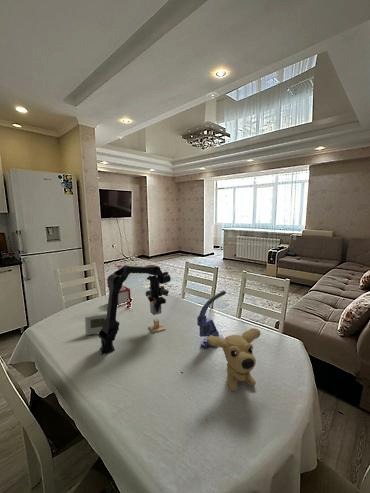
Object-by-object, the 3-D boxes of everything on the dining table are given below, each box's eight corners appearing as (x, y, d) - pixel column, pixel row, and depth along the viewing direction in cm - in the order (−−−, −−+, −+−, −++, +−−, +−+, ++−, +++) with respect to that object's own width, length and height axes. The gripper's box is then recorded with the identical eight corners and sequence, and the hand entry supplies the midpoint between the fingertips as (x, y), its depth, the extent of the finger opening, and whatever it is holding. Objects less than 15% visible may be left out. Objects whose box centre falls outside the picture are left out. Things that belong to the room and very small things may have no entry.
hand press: (205, 352, 120) (205, 300, 115) (194, 345, 127) (194, 295, 122) (230, 340, 131) (231, 292, 127) (218, 333, 138) (219, 288, 134)
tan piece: (165, 329, 143) (164, 320, 142) (152, 333, 140) (152, 324, 139) (160, 324, 150) (159, 315, 149) (148, 327, 146) (147, 318, 146)
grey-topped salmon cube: (161, 313, 143) (161, 302, 142) (153, 315, 140) (153, 304, 139) (158, 310, 147) (157, 300, 146) (150, 311, 145) (149, 301, 144)
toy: (219, 405, 87) (220, 356, 84) (201, 371, 106) (201, 330, 103) (276, 390, 94) (278, 344, 91) (249, 361, 113) (251, 322, 110)
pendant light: (124, 298, 195) (122, 263, 191) (130, 302, 187) (128, 266, 182) (111, 302, 188) (109, 266, 184) (117, 306, 180) (115, 268, 175)
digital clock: (84, 336, 137) (82, 319, 136) (88, 328, 146) (87, 312, 144) (112, 334, 139) (111, 317, 137) (115, 327, 148) (114, 311, 146)
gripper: (173, 287, 137) (174, 313, 139) (161, 279, 153) (161, 302, 155) (155, 291, 131) (156, 317, 134) (144, 282, 147) (145, 306, 150)
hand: (155, 310), depth 143 cm, fingers closed on grey-topped salmon cube, 5 cm apart
